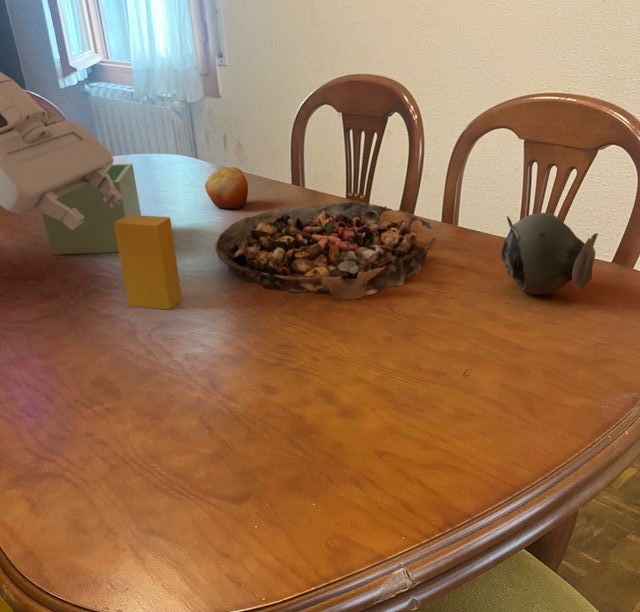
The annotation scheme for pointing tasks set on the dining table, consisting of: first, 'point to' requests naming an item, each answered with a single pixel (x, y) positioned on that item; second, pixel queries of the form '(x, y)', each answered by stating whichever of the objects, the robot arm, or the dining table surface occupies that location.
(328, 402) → the dining table surface
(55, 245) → the bin
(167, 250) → the packet
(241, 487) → the dining table surface
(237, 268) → the food dish
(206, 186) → the fruit
